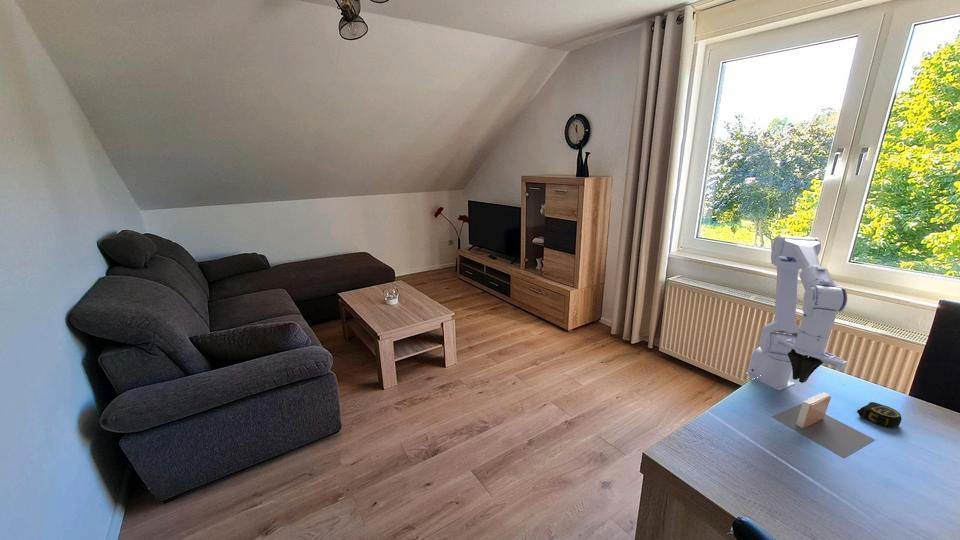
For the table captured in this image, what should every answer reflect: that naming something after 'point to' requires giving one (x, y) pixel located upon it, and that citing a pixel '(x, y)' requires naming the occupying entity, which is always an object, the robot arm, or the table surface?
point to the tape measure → (880, 415)
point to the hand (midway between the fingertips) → (799, 379)
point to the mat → (827, 432)
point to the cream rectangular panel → (813, 409)
